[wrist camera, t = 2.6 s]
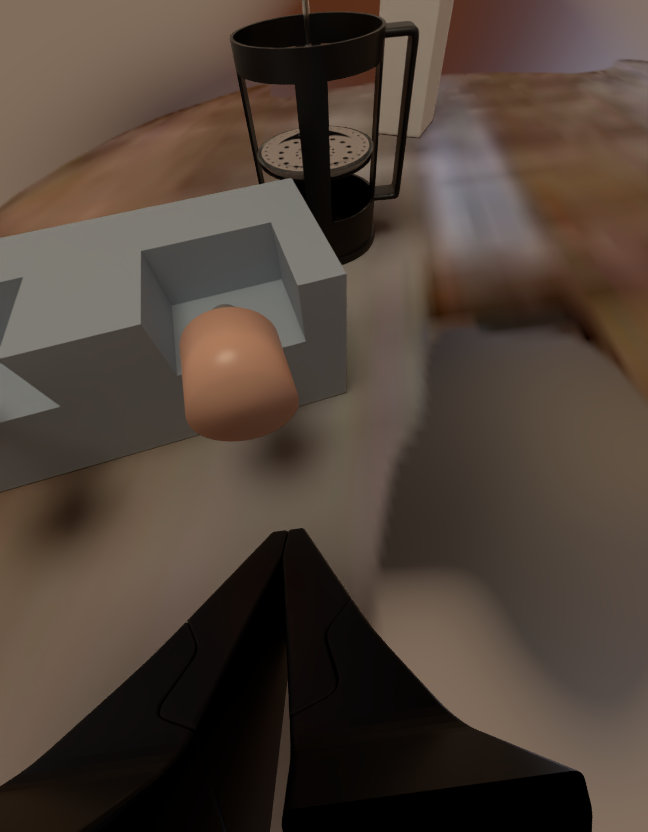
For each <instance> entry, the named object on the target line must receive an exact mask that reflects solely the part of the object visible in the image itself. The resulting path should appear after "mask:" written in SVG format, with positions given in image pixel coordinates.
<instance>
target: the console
mask: <svg viewBox="0 0 648 832" xmlns="http://www.w3.org/2000/svg"><path fill="white" fill-rule="evenodd" d="M221 304H229V305H233V306H235V307H240V308H246V309H250V310H253V311H255V312H258V313H260V314H262V315H263V316H265V317H266V318H267V319H268V320H270V321H271V322H272V324H273V325H274V326H275V328H276V330H277V332H278V335H279V338H280V341H281V344H282V347H283V350H284V354H285V357H286V360H287V363H288V366H289V369H290V372H291V375H292V378H293V381H294V384H295V387H296V390H297V393H298V396H299V405H298V406H301V405H305V404H308V403H312V402H315V401H319V400H322V399H326V398H329V397H333V396H336V395H340V394H343V393H346V272H345V270H344V269H343V267H342V265H341V263H340V262H339V260H338V258H337V256H336V255H335V253H334V251H333V249H332V248H331V246H330V244H329V242H328V241H327V239H326V237H325V235H324V234H323V232H322V230H321V228H320V227H319V225H318V223H317V222H316V220H315V218H314V216H313V215H312V213H311V211H310V209H309V208H308V206H307V204H306V202H305V201H304V199H303V197H302V195H301V194H300V192H299V190H298V188H297V187H296V185H295V183H294V181H293V180H292V178H288V179H283V180H278V181H274V182H269V183H264V184H259V185H254V186H250V187H245V188H240V189H235V190H230V191H225V192H221V193H216V194H211V195H206V196H201V197H196V198H192V199H187V200H182V201H177V202H172V203H167V204H163V205H158V206H153V207H148V208H143V209H138V210H134V211H129V212H124V213H119V214H114V215H109V216H105V217H100V218H95V219H90V220H85V221H81V222H76V223H71V224H66V225H61V226H56V227H52V228H47V229H42V230H37V231H32V232H27V233H23V234H18V235H13V236H8V237H3V238H0V492H2V491H5V490H9V489H12V488H16V487H19V486H23V485H26V484H30V483H33V482H37V481H40V480H44V479H47V478H51V477H54V476H57V475H61V474H64V473H68V472H71V471H75V470H78V469H82V468H85V467H89V466H92V465H96V464H99V463H103V462H106V461H110V460H113V459H117V458H120V457H124V456H127V455H131V454H134V453H138V452H141V451H145V450H148V449H152V448H155V447H158V446H162V445H165V444H169V443H172V442H176V441H179V440H183V439H186V438H190V437H193V436H197V435H200V434H198V433H196V432H195V431H194V430H193V429H192V428H191V427H190V426H189V425H188V423H187V420H186V415H185V404H184V393H183V382H182V370H181V359H180V347H179V344H180V338H181V335H182V333H183V330H184V329H185V328H186V326H187V325H188V324H189V323H190V322H191V321H192V320H193V319H195V318H196V317H197V316H199V315H201V314H203V313H205V312H207V311H210V310H212V309H213V308H214V307H216V306H218V305H221Z"/></svg>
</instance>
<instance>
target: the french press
mask: <svg viewBox="0 0 648 832" xmlns="http://www.w3.org/2000/svg"><path fill="white" fill-rule="evenodd" d="M302 7H303V14H298V15H291V16H284V17H278V18H273V19H268V20H264V21H260V22H256V23H253V24H250V25H247V26H244V27H242V28H240V29H238V30H236V31H235V32H233V33H232V34H231V35H230V42H231V47H232V52H233V57H234V62H235V67H236V72H237V77H238V82H239V87H240V92H241V97H242V102H243V107H244V112H245V117H246V122H247V127H248V132H249V137H250V142H251V146H252V151H253V156H254V161H255V166H256V171H257V176H258V181H259V184H264V178H263V173H262V169H263V170H264V171H265V172H266V173H267V174H269V175H270V176H272V177H274V178H276V179H280V180H283V179H288V178H292V180H293V181H294V183H295V185H296V187H297V188H298V190H299V192H300V194H301V195H302V197H303V199H304V201H305V202H306V204H307V206H308V208H309V209H310V211H311V213H312V215H313V216H314V218H315V220H316V222H317V223H318V225H319V227H320V228H321V230H322V232H323V234H324V235H325V237H326V239H327V241H328V242H329V244H330V246H331V248H332V249H333V251H334V253H335V255H336V256H337V258H338V260H339V262H340V263H341V264H345V263H347V262H349V261H352V260H354V259H356V258H357V257H359V256H361V255H362V254H363V253H364V252H365V251H367V250H368V248H369V247H370V245H371V244H372V242H373V238H374V226H373V223H372V222H373V207H374V201H375V200H387V199H395V198H397V197H398V196H399V191H400V184H401V176H402V168H403V160H404V152H405V145H406V137H407V129H408V121H409V113H410V105H411V97H412V90H413V82H414V74H415V66H416V58H417V50H418V42H419V29H418V27H417V26H416V25H415V24H414V23H413V22H411V21H401V22H391V23H386V21H385V20H384V19H383V18H382V17H379V16H376V15H372V14H367V13H358V12H319V13H309V0H302ZM402 36H408V41H407V50H406V60H405V69H404V78H403V87H402V97H401V106H400V115H399V125H398V134H397V143H396V152H395V162H394V171H393V180H392V184H390V185H383V186H375V178H376V163H377V149H378V134H379V119H380V105H381V90H382V75H383V61H384V46H385V38H392V37H402ZM321 43H329V44H323V45H321ZM292 46H295V47H293V48H286V47H292ZM374 67H376V76H375V93H374V111H373V129H372V139H371V138H370V137H369V136H368V135H366V134H364V133H363V132H361V131H358V130H355V129H351V128H346V127H340V126H329V115H328V86H327V81H332V80H337V79H342V78H346V77H350V76H354V75H357V74H360V73H363V72H365V71H368V70H370V69H372V68H374ZM245 79H247V80H251V81H254V82H259V83H265V84H295V89H296V101H297V111H298V122H299V129H294V130H290V131H287V132H284V133H281V134H279V135H276V136H274V137H272V138H271V139H269V140H267V141H266V142H265V143H263V144H262V146H261V147H260V148H259V150H258V146H257V141H256V135H255V130H254V125H253V120H252V114H251V109H250V104H249V98H248V93H247V88H246V83H245ZM370 159H371V166H370V183H369V182H368V181H367V180H365V179H364V178H362V177H360V176H358V175H355V174H354V173H356V172H358V171H359V170H360V169H362V168H363V167H365V165H366V164H367V163H368V162H369V161H370ZM332 213H335V214H340V215H343V216H346V217H348V218H345V219H342V220H338V221H334V222H332Z"/></svg>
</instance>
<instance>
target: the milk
mask: <svg viewBox="0 0 648 832" xmlns="http://www.w3.org/2000/svg"><path fill="white" fill-rule="evenodd" d="M453 2H454V0H380V16H379V17H382V18H383V19H384V20H385V21H386V23H391V22H401V21H411V22H413V23H414V24H415V25H416V26H417V27H418V29H419V42H418V50H417V58H416V66H415V74H414V82H413V90H412V97H411V105H410V113H409V121H408V129H407V137H416V138H419V137H420V136H421V135H422V133H423V132H424V131H425V129H426V128H427V127H428V125H429V124H430V123H431V121H432V120H433V116H434V110H435V105H436V99H437V93H438V87H439V82H440V76H441V70H442V65H443V59H444V53H445V47H446V42H447V36H448V30H449V25H450V19H451V14H452V8H453ZM407 41H408V36H402V37H392V38H385V46H384V61H383V75H382V90H381V105H380V119H379V134H388V135H397V134H398V125H399V115H400V106H401V97H402V87H403V78H404V69H405V60H406V50H407Z"/></svg>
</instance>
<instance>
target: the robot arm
mask: <svg viewBox="0 0 648 832" xmlns="http://www.w3.org/2000/svg"><path fill="white" fill-rule="evenodd" d="M287 678H288V694H289V716H290V766H289V773H288V780H287V788H286V795H285V802H284V809H283V816H282V830H283V832H592V807H591V803H590V798H589V795H588V790H587V786H586V782H585V778H584V776H583V774H582V773H581V772H579V771H577V770H574V769H572V768H569V767H567V766H564V765H562V764H560V763H557V762H555V761H552V760H550V759H547V758H545V757H542V756H540V755H538V754H535V753H532V752H530V751H528V750H525V749H522V748H520V747H518V746H515V745H513V744H510V743H508V742H506V741H503V740H501V739H498V738H496V737H493V736H491V735H488V734H486V733H484V732H481V731H479V730H476V729H474V728H472V727H470V726H468V725H467V724H465V723H464V722H462V721H461V720H460V719H458V718H457V717H456V716H454V715H453V714H452V713H451V712H450V711H448V709H446V708H445V707H444V706H443V705H442V704H441V703H440V702H439V701H438V700H437V699H436V697H435V696H434V695H433V694H432V693H431V692H430V691H429V690H428V689H427V688H426V687H425V686H424V685H423V683H422V682H421V681H420V680H419V679H418V678H417V677H416V676H415V675H414V674H413V673H412V671H411V670H410V669H409V668H408V667H407V666H406V665H405V664H404V663H403V662H402V661H401V660H400V659H399V657H398V656H397V655H396V654H395V653H394V652H393V651H392V650H391V649H390V648H389V647H388V645H387V644H386V643H385V642H384V641H383V640H382V638H381V637H380V636H379V635H378V634H377V633H376V631H375V630H374V629H373V628H372V627H371V625H370V624H369V623H368V621H367V620H366V618H365V617H364V616H363V614H362V613H361V612H360V610H359V609H358V607H357V606H356V604H355V603H354V601H353V600H352V599H351V597H350V596H349V594H348V593H347V591H346V590H345V588H344V587H343V585H342V584H341V582H340V581H339V580H338V578H337V577H336V575H335V574H334V572H333V571H332V569H331V568H330V566H329V565H328V563H327V562H326V560H325V559H324V557H323V556H322V554H321V553H320V551H319V550H318V548H317V547H316V546H315V544H314V543H313V541H312V540H311V538H310V537H309V535H308V534H307V532H306V531H305V529H303V528H299V529H291V530H289V532H288V531H286V530H284V531H277V532H273V533H271V534H270V535H269V536H268V537H267V538H266V540H265V541H264V542H263V543H262V544H261V545H260V546H259V547H258V548H257V549H256V550H255V551H254V552H253V553H252V554H251V555H250V556H249V557H248V558H247V559H246V560H245V561H244V562H243V563H242V564H241V565H240V567H239V568H238V569H237V570H236V571H235V572H234V573H233V574H232V575H231V576H230V577H229V578H228V579H227V580H226V581H225V582H224V583H223V584H222V585H221V586H220V587H219V588H218V589H217V590H216V591H215V592H214V594H213V595H212V596H211V597H210V598H209V599H208V600H207V601H206V602H205V603H204V604H203V605H202V606H201V607H200V608H199V609H198V610H197V611H196V612H195V613H194V614H193V615H192V616H191V617H190V618H189V619H188V623H184V624H183V626H182V627H181V628H180V629H179V630H178V631H177V632H176V633H175V634H174V635H173V636H172V637H171V638H170V639H169V640H168V641H167V642H166V643H165V644H164V645H163V646H162V647H161V648H160V649H159V650H158V651H157V652H156V653H155V654H154V655H153V656H152V657H151V658H150V659H149V660H148V661H147V662H145V663H144V664H143V665H142V666H141V667H140V668H139V669H138V670H137V671H136V672H135V673H134V674H133V675H131V676H130V677H129V678H128V679H127V680H126V681H125V682H124V683H123V684H122V685H121V686H120V687H118V688H117V689H116V690H115V691H114V692H113V693H112V694H111V695H110V696H108V697H107V698H106V699H105V700H104V701H103V702H102V703H101V704H100V705H98V706H97V707H96V708H95V709H94V710H93V711H92V712H91V713H90V714H88V715H87V716H86V717H85V718H84V719H83V720H82V721H81V722H80V723H78V724H77V725H76V726H75V727H74V728H73V729H72V730H71V731H70V732H68V733H67V734H66V735H65V736H64V737H63V738H62V739H61V740H60V741H58V742H57V743H56V744H55V745H54V746H53V747H52V748H51V749H50V750H48V751H47V752H46V753H45V754H44V755H43V756H41V757H40V758H39V759H38V760H37V761H35V762H34V763H33V764H32V765H30V766H29V767H28V768H26V769H25V770H24V771H22V772H21V773H20V774H18V775H17V776H15V777H14V778H12V779H11V780H9V781H8V782H6V783H5V784H3V785H1V786H0V832H270V827H271V818H272V809H273V800H274V792H275V783H276V774H277V766H278V757H279V748H280V739H281V731H282V722H283V713H284V705H285V696H286V687H287Z"/></svg>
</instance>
